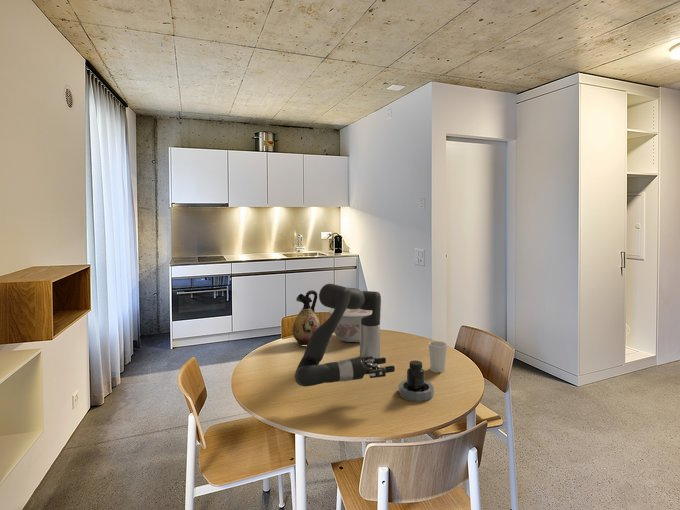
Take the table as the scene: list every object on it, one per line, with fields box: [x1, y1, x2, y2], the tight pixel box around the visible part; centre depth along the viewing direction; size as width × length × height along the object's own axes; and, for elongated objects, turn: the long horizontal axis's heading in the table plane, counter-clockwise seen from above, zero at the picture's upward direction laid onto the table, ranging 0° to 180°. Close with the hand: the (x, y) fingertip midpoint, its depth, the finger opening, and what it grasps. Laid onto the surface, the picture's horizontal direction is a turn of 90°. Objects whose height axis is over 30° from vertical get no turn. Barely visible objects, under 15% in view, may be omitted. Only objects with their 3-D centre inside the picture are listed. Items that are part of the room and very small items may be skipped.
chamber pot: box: [328, 308, 372, 343], centre depth 224 cm, size 28×28×21 cm
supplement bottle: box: [406, 359, 426, 392], centre depth 153 cm, size 7×7×12 cm
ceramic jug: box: [292, 289, 321, 346], centre depth 215 cm, size 17×15×30 cm
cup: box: [428, 340, 448, 373], centre depth 177 cm, size 8×8×12 cm
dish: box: [398, 379, 435, 402], centre depth 153 cm, size 13×13×3 cm
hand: (389, 364), depth 149 cm, fingers open, 8 cm apart
